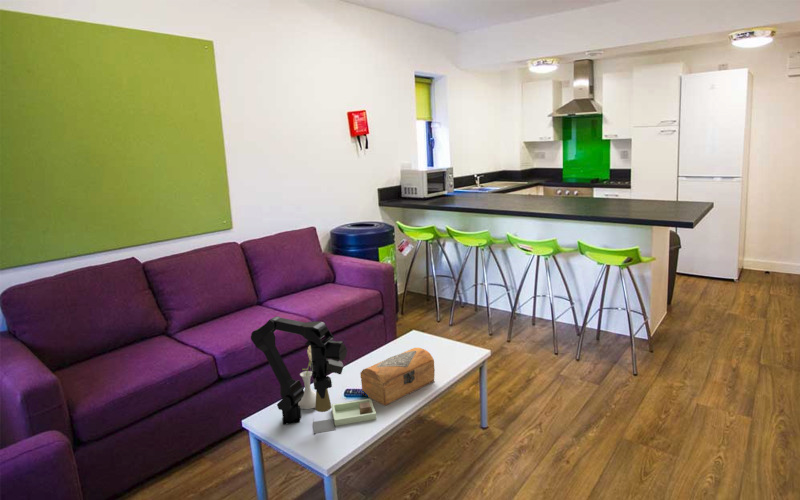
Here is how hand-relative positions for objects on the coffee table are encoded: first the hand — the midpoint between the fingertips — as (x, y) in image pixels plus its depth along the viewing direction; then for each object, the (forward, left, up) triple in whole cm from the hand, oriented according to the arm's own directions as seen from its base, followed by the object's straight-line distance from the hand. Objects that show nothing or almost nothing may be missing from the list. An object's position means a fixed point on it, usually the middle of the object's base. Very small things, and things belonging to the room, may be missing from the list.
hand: (322, 395), depth 189 cm
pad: (0, 0, -13) cm, 13 cm away
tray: (+12, +5, -13) cm, 18 cm away
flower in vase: (-4, +19, -13) cm, 23 cm away
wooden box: (+34, +21, -13) cm, 42 cm away
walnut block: (+16, +3, -13) cm, 21 cm away
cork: (0, 0, -5) cm, 5 cm away
